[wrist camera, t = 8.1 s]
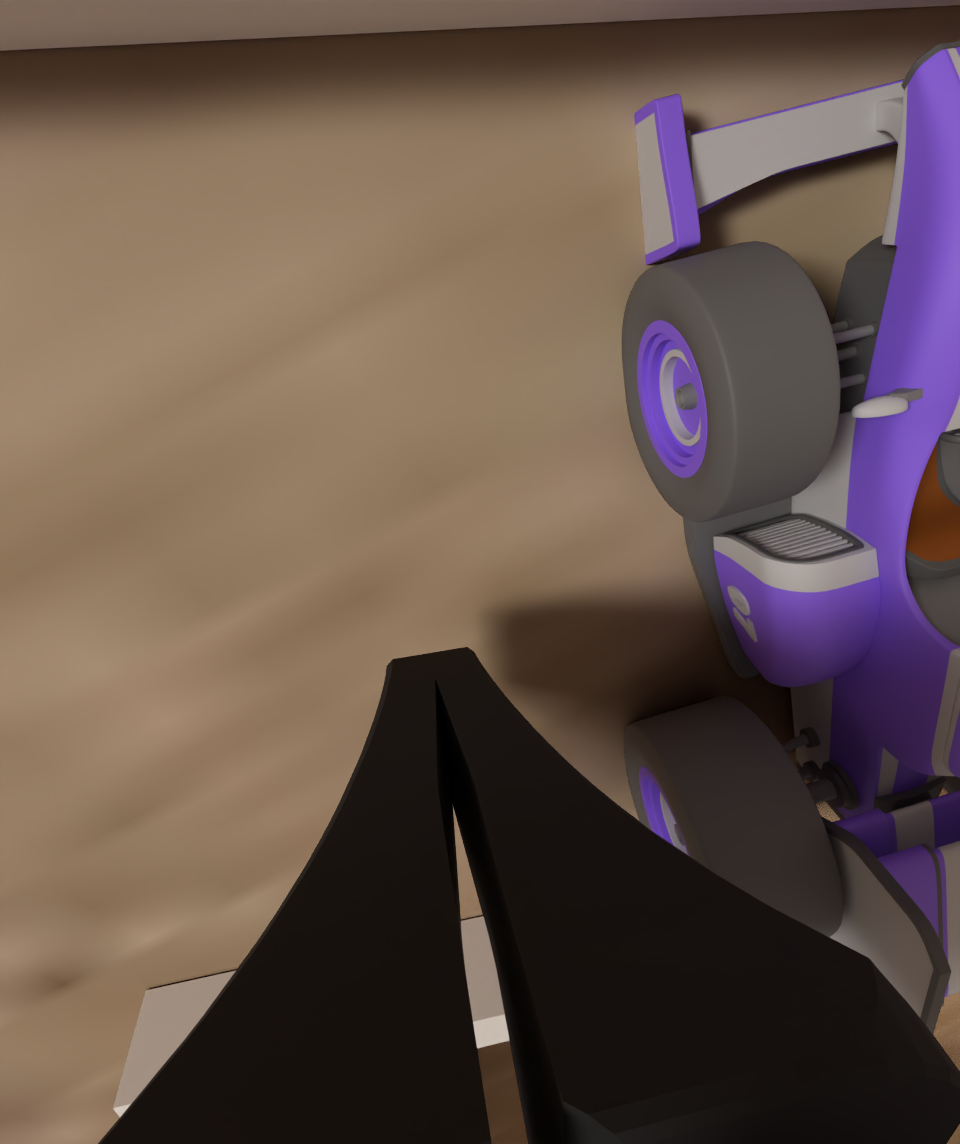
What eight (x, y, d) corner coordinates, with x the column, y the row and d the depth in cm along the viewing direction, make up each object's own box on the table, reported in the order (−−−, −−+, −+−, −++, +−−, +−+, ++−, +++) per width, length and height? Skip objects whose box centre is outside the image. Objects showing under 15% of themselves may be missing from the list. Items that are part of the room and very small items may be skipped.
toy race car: (1139, -17, 9) (2378, -427, 4) (967, 716, 17) (1283, 961, 11) (527, 137, 9) (832, -50, 3) (629, 820, 16) (777, 1132, 11)
